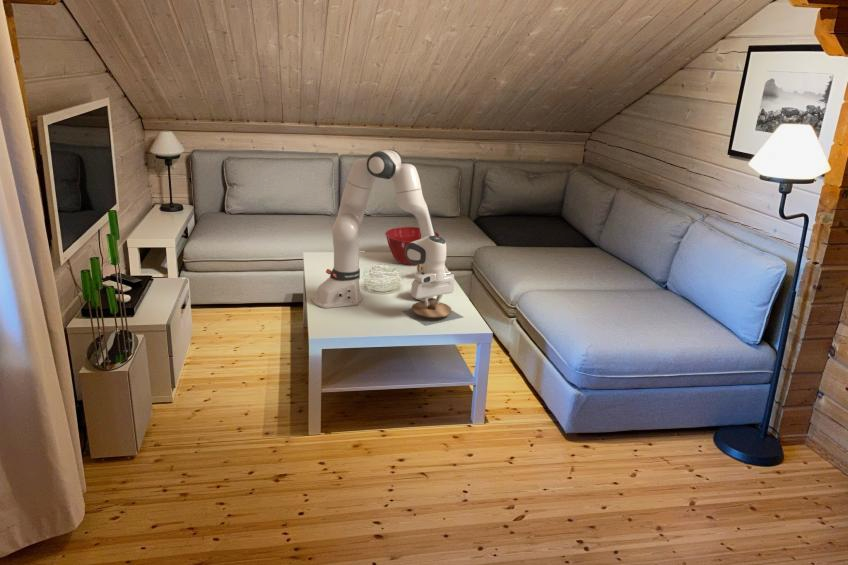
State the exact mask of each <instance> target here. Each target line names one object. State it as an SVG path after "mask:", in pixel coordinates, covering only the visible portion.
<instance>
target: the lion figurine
mask: <svg viewBox="0 0 848 565" xmlns="http://www.w3.org/2000/svg"><path fill="white" fill-rule="evenodd" d="M423 269H424V264H418V265H416V271H417V272H419V271H421V270H423Z"/></svg>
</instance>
